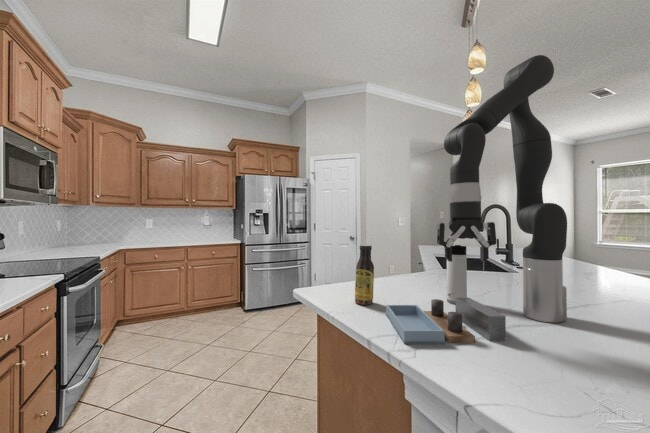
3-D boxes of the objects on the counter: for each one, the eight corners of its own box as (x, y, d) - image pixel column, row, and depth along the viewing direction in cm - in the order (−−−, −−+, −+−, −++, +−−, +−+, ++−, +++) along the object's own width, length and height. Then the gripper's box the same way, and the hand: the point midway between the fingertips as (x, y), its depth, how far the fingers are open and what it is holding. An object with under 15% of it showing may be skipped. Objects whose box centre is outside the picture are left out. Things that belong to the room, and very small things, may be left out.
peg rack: (443, 316, 83) (442, 297, 83) (474, 342, 65) (474, 318, 65) (422, 316, 83) (422, 297, 84) (449, 342, 65) (448, 318, 66)
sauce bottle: (352, 304, 95) (351, 245, 96) (358, 299, 101) (358, 244, 101) (370, 307, 92) (370, 246, 92) (376, 302, 98) (376, 244, 98)
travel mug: (448, 304, 95) (447, 244, 95) (445, 299, 101) (445, 243, 102) (468, 306, 93) (468, 245, 93) (465, 300, 100) (464, 243, 100)
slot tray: (417, 315, 84) (416, 305, 84) (444, 344, 65) (444, 331, 65) (386, 315, 84) (386, 305, 84) (404, 344, 65) (404, 330, 65)
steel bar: (469, 318, 82) (469, 297, 82) (505, 341, 66) (505, 316, 66) (455, 318, 82) (455, 297, 82) (489, 342, 66) (488, 316, 66)
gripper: (487, 201, 79) (488, 259, 78) (434, 202, 81) (435, 259, 80) (500, 199, 71) (501, 263, 71) (440, 200, 73) (442, 263, 73)
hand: (466, 261), depth 76 cm, fingers open, 8 cm apart
